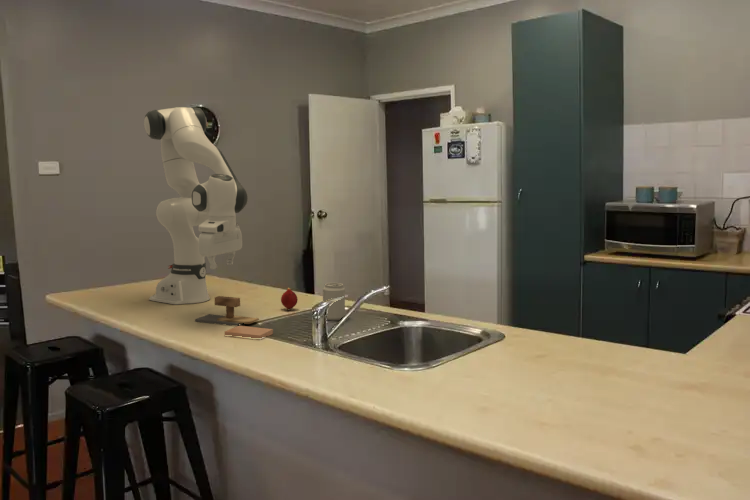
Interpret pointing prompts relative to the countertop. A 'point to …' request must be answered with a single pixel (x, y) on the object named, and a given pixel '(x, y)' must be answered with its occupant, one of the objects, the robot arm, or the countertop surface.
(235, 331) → the tile
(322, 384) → the countertop surface
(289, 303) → the onion
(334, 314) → the can
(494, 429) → the countertop surface
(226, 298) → the wooden trowel
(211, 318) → the mat
